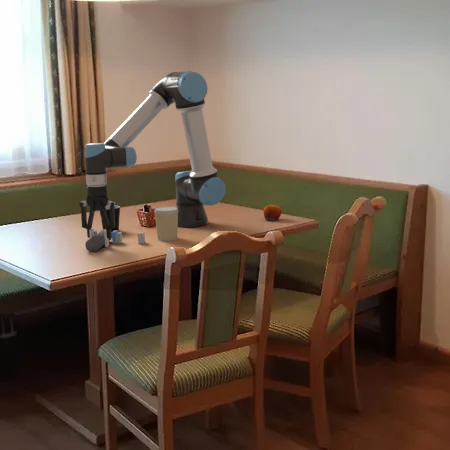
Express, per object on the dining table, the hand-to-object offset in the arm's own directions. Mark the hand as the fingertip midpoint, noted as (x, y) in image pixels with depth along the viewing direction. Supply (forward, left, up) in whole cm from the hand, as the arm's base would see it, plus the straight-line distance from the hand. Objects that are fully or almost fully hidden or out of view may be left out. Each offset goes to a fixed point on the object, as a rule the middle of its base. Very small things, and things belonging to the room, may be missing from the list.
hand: (99, 246), depth 252 cm
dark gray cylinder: (-1, 0, 0) cm, 1 cm away
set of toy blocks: (-5, -6, 0) cm, 8 cm away
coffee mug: (+4, -29, 0) cm, 29 cm away
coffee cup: (-23, -14, 0) cm, 27 cm away
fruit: (-62, -51, 0) cm, 80 cm away
